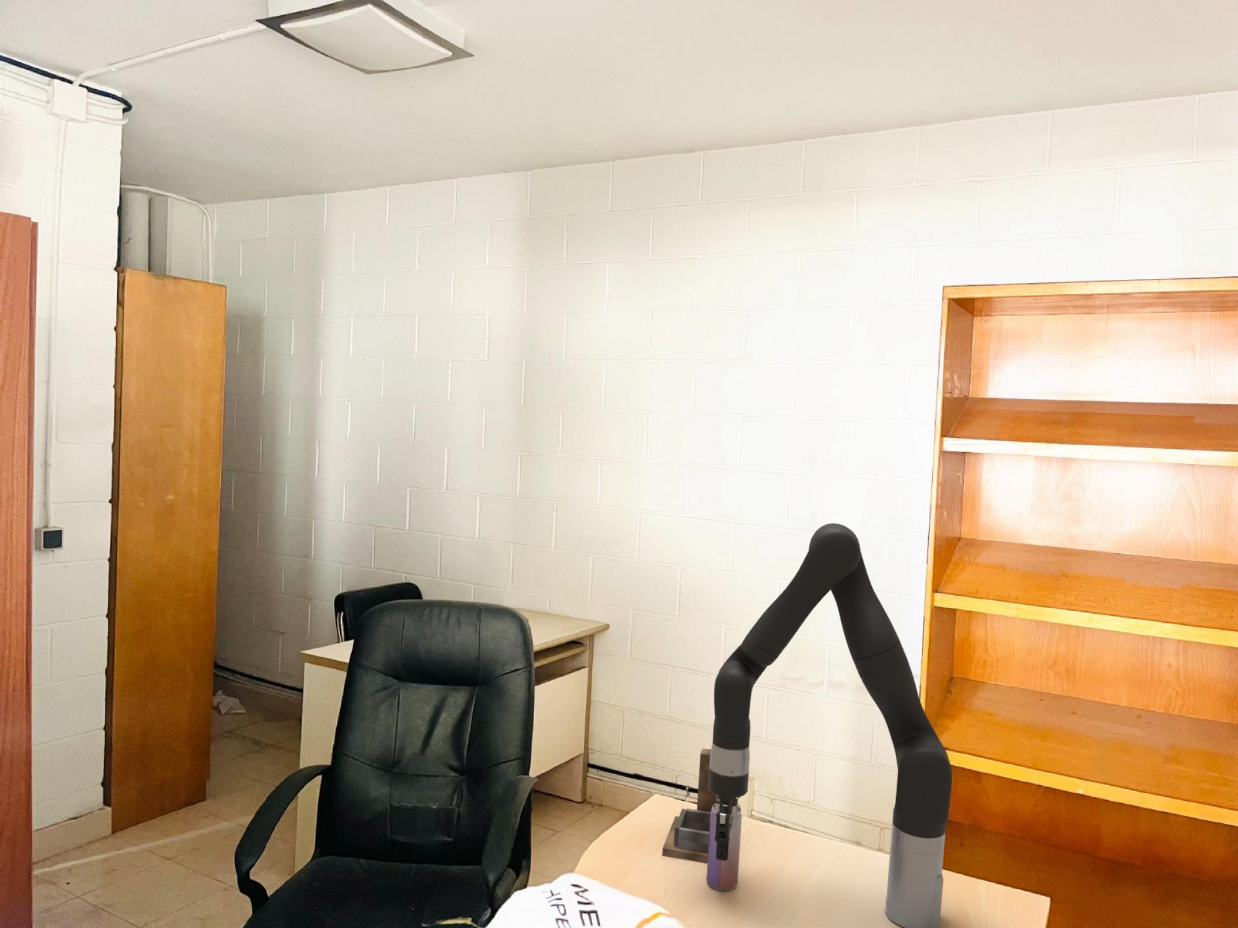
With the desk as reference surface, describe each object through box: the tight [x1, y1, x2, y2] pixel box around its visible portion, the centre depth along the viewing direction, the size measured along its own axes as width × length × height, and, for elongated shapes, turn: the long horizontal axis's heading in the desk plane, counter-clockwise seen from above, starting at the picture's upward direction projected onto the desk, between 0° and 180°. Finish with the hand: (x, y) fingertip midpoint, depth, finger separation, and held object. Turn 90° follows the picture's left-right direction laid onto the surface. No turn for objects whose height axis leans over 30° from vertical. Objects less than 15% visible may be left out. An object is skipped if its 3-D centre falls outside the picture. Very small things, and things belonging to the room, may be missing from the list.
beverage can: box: [706, 804, 743, 892], centre depth 176 cm, size 6×6×15 cm
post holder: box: [661, 748, 718, 864], centre depth 191 cm, size 14×15×18 cm
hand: (723, 850), depth 176 cm, fingers closed on beverage can, 6 cm apart
